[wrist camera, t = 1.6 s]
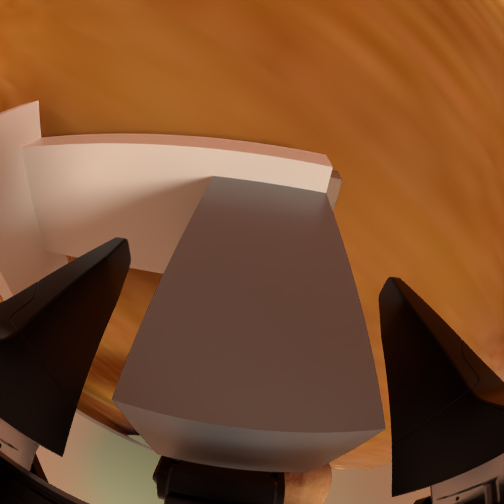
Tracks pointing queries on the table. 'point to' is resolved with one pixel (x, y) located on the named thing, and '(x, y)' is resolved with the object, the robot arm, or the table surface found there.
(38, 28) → the table surface
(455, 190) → the table surface
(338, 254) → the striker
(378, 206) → the table surface
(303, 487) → the butternut squash
